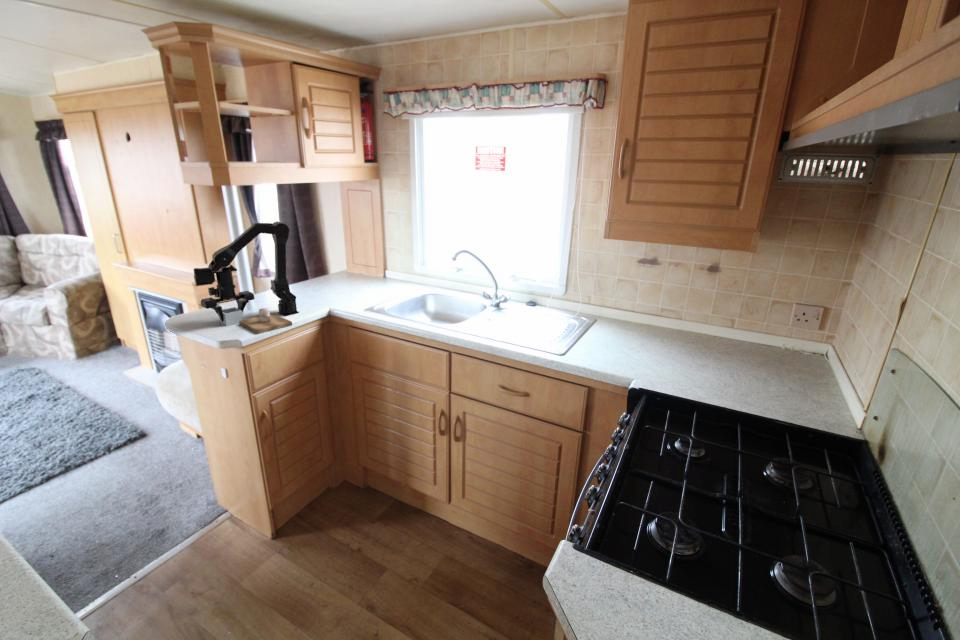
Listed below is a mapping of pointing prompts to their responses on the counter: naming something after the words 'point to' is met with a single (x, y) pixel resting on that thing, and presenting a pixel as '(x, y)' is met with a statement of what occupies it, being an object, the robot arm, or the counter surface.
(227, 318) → the duct collar
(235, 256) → the robot arm
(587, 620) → the counter surface
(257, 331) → the board
